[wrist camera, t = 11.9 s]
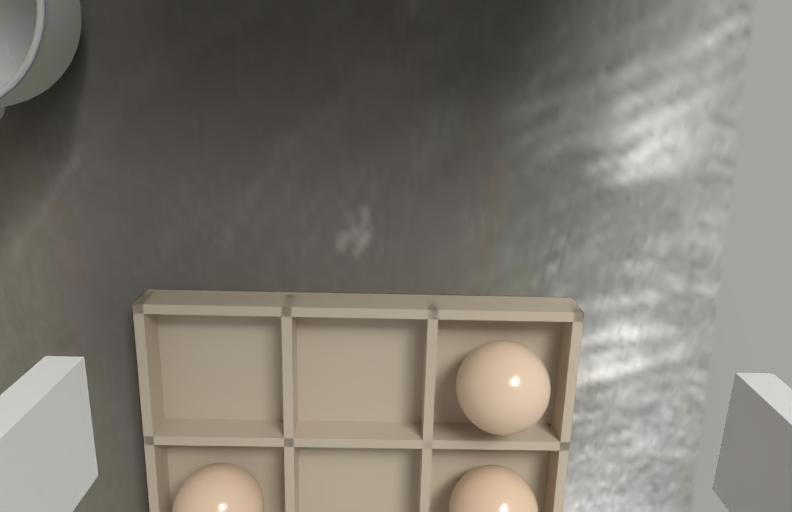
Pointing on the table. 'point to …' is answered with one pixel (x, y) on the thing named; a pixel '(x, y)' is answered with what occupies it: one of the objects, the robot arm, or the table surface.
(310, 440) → the carton
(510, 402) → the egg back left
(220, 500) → the egg
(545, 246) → the table surface
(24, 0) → the teacup
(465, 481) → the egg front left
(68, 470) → the robot arm
